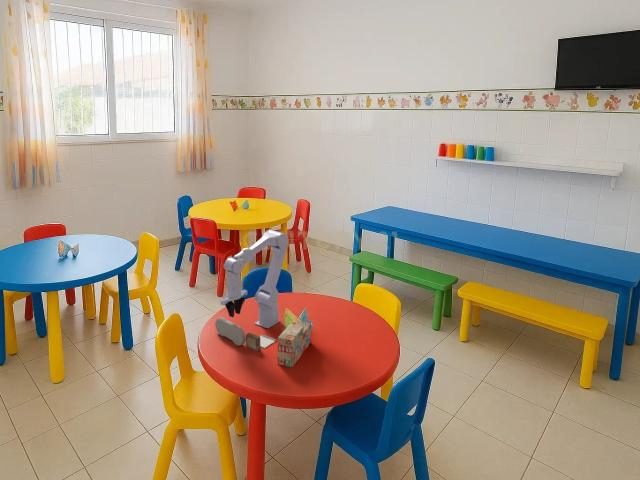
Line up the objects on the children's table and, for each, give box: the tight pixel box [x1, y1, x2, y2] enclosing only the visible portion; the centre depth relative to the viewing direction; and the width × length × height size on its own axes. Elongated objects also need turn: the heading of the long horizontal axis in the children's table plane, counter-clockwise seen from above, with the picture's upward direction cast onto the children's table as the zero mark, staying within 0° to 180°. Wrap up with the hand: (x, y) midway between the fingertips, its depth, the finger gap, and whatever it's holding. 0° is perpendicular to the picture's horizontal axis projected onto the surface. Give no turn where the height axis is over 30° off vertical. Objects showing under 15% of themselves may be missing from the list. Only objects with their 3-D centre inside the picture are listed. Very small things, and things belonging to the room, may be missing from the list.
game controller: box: [214, 316, 246, 347], centre depth 200 cm, size 20×2×8 cm, turn 47°
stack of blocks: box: [277, 320, 312, 368], centre depth 190 cm, size 21×6×12 cm, turn 161°
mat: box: [259, 334, 277, 349], centre depth 199 cm, size 8×8×1 cm
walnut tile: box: [245, 332, 261, 352], centre depth 193 cm, size 2×6×6 cm, turn 57°
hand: (234, 314), depth 200 cm, fingers open, 3 cm apart
